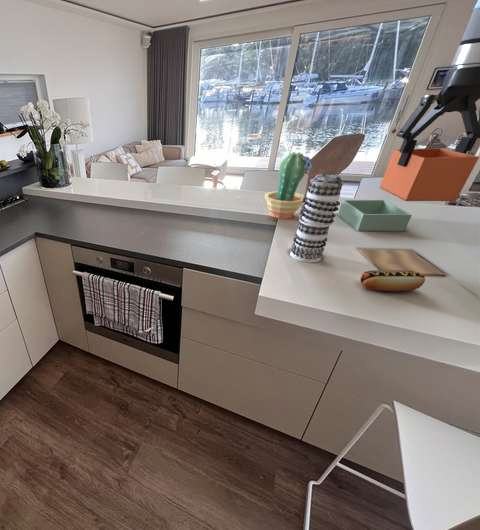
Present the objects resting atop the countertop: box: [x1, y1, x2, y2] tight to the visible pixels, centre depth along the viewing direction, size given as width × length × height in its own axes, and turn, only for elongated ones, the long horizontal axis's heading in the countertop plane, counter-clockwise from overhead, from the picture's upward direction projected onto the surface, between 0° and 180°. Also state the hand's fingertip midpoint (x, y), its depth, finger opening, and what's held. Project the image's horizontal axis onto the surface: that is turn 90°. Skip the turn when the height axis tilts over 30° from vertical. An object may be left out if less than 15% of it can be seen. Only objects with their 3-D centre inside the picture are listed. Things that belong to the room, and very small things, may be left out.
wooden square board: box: [358, 248, 446, 277], centre depth 84 cm, size 14×14×1 cm
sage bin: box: [337, 199, 413, 232], centre depth 106 cm, size 14×16×7 cm
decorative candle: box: [289, 173, 346, 264], centre depth 85 cm, size 9×9×25 cm
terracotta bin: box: [379, 147, 480, 202], centre depth 78 cm, size 11×13×11 cm
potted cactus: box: [264, 151, 313, 220], centre depth 115 cm, size 15×15×25 cm
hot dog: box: [359, 269, 426, 292], centre depth 72 cm, size 5×13×5 cm, turn 82°
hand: (427, 164), depth 77 cm, fingers closed on terracotta bin, 11 cm apart
